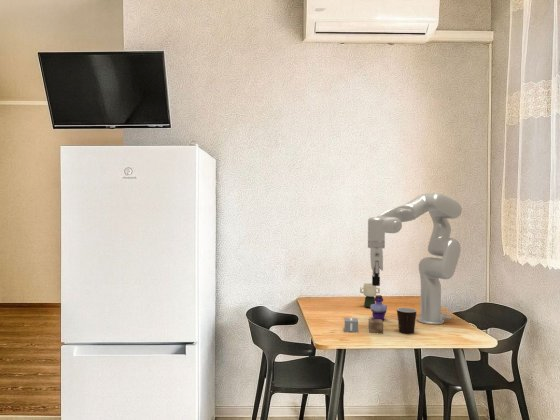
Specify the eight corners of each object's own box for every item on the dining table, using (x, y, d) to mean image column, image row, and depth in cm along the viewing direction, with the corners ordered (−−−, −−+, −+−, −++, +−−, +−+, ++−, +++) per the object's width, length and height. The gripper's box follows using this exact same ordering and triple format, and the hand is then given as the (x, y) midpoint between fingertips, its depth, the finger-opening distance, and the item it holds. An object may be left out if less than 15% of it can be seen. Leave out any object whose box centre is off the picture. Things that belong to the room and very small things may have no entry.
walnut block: (381, 330, 205) (381, 319, 205) (382, 334, 199) (383, 322, 199) (368, 329, 206) (368, 318, 206) (369, 333, 200) (369, 322, 200)
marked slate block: (357, 329, 207) (357, 317, 207) (358, 332, 200) (358, 321, 200) (344, 328, 207) (344, 317, 207) (344, 332, 201) (344, 320, 201)
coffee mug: (401, 328, 208) (401, 306, 208) (419, 331, 202) (419, 309, 202) (390, 333, 199) (390, 311, 199) (408, 337, 193) (409, 314, 193)
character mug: (378, 306, 253) (378, 283, 253) (380, 309, 246) (380, 285, 246) (359, 305, 254) (359, 282, 253) (360, 308, 246) (361, 285, 246)
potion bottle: (390, 319, 224) (391, 295, 223) (381, 322, 218) (381, 298, 217) (376, 316, 230) (376, 293, 230) (366, 319, 224) (366, 295, 224)
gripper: (386, 246, 194) (386, 288, 194) (383, 243, 209) (382, 282, 209) (368, 246, 195) (368, 288, 195) (366, 243, 210) (366, 282, 210)
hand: (375, 284), depth 202 cm, fingers closed
